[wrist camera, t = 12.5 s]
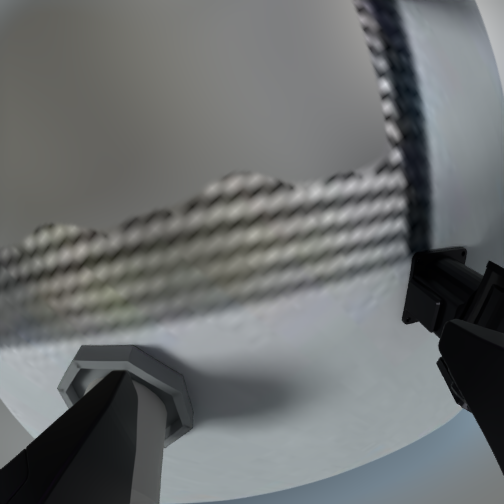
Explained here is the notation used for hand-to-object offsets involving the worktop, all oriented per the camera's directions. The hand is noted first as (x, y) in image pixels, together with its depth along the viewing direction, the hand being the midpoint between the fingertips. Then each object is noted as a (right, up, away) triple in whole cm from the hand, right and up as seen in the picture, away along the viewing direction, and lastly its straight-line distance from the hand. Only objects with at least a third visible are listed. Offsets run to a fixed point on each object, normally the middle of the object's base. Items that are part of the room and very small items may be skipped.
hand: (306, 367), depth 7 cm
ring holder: (-13, -10, +16) cm, 23 cm away
